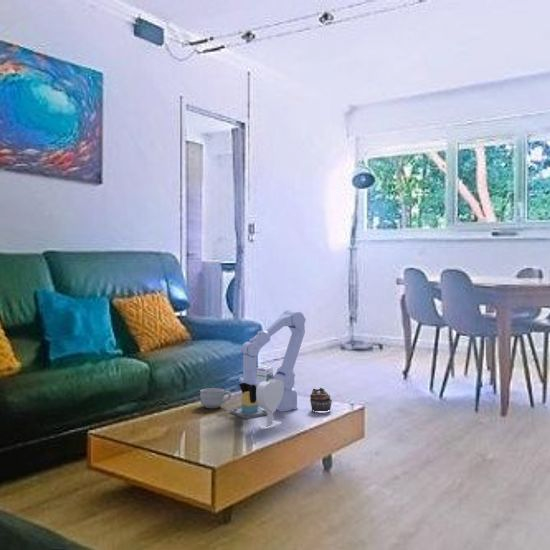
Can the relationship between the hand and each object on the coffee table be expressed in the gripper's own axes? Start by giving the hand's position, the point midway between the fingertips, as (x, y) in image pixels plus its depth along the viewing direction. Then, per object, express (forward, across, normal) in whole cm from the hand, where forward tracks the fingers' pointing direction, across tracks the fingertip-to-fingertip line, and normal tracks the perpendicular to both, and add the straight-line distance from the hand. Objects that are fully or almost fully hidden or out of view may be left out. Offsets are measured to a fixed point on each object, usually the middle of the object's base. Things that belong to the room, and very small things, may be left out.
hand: (249, 401), depth 266 cm
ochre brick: (+1, 0, 0) cm, 1 cm away
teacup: (+6, -18, -7) cm, 20 cm away
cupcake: (+6, +13, +29) cm, 32 cm away
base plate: (+6, 0, 0) cm, 6 cm away
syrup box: (+6, -23, +23) cm, 33 cm away
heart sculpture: (+6, +19, -2) cm, 20 cm away
